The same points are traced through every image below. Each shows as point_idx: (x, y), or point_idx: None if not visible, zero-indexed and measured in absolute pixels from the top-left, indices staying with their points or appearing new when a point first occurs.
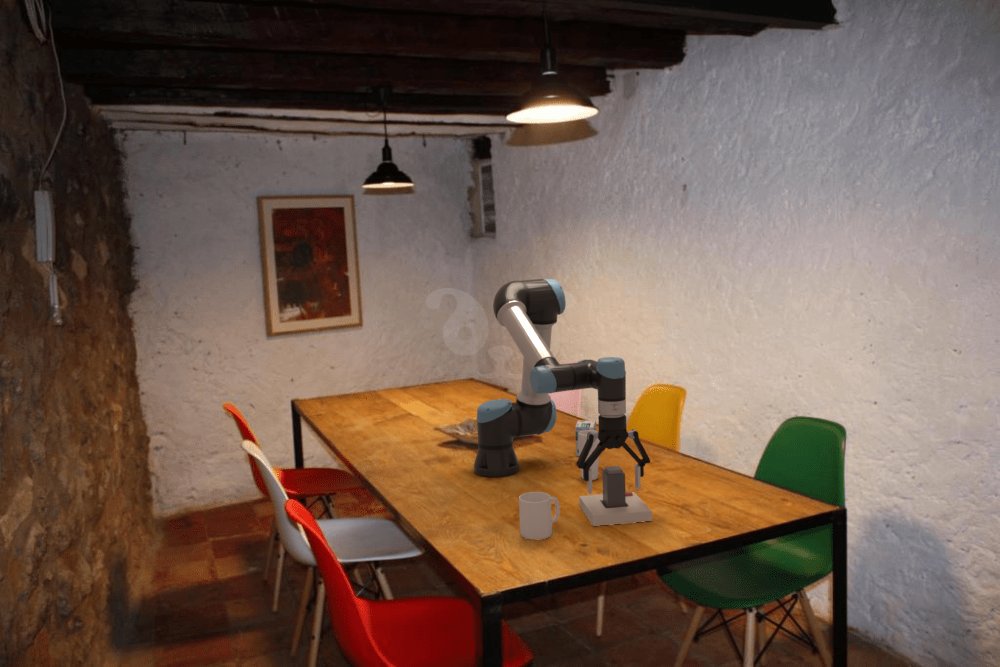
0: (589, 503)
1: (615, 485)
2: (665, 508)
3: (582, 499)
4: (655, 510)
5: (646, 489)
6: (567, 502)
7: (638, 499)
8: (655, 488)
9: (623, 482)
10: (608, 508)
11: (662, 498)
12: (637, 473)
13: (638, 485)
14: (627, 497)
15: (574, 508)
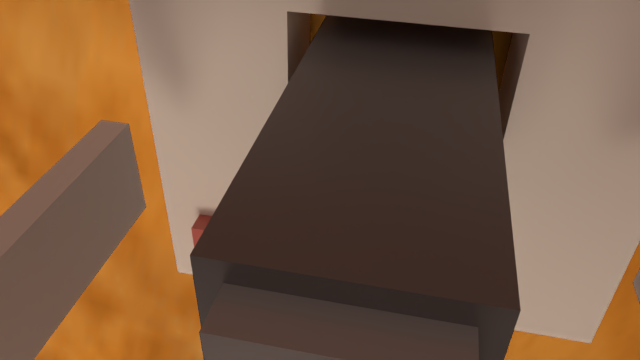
0: (608, 196)
1: (384, 170)
2: (21, 61)
3: (609, 285)
4: (90, 48)
5: (107, 334)
6: (612, 356)
7: (170, 135)
8: (62, 328)
9: (262, 174)
10: (507, 19)
11: None
12: (18, 253)
13: (98, 148)
14: None
15: (633, 268)
